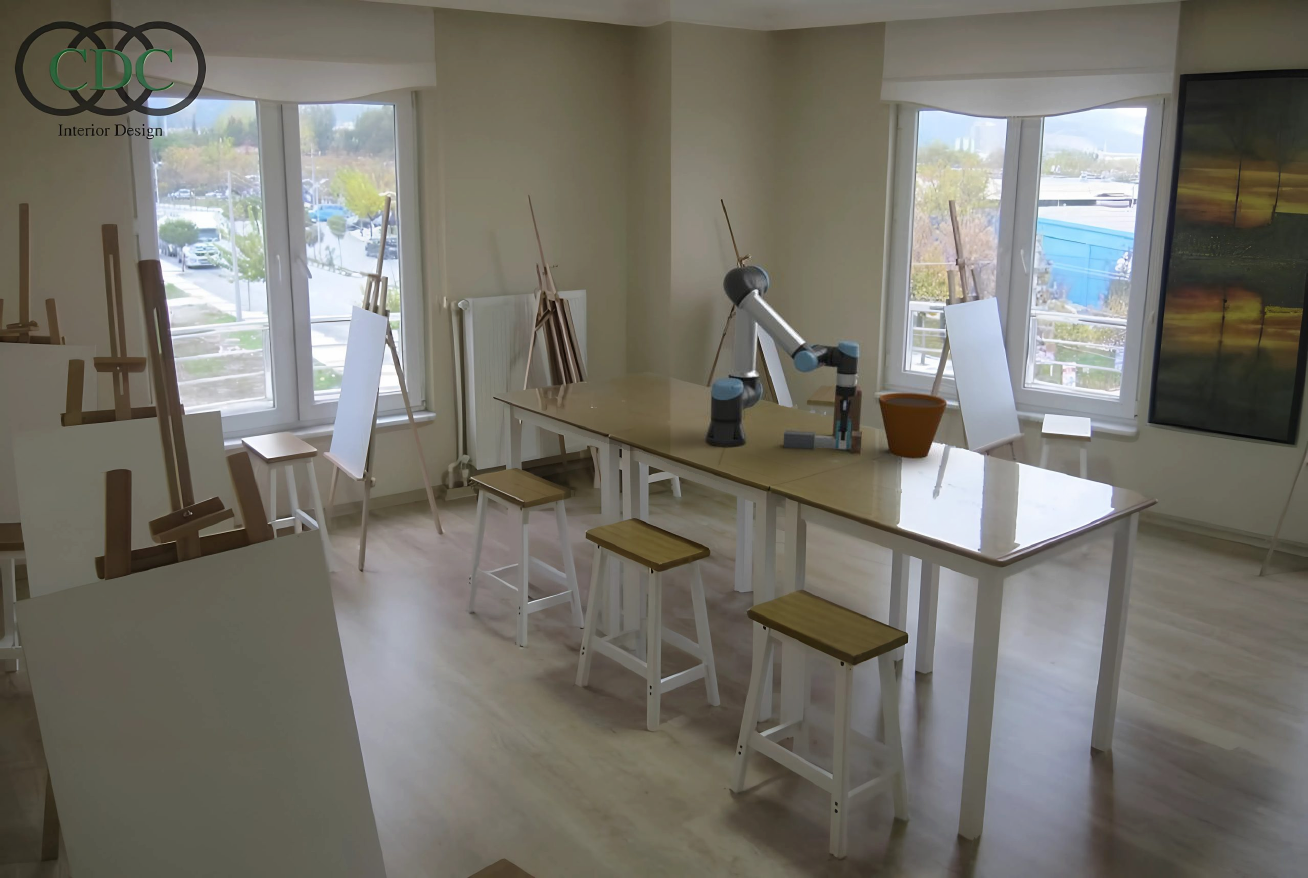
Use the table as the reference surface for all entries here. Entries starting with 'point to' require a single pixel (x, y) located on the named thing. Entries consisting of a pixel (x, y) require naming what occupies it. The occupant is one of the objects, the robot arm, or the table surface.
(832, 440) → the teal square post
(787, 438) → the grey rectangular block
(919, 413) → the flower pot
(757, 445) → the table surface
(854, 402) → the wooden block
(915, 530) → the table surface
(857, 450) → the socket
